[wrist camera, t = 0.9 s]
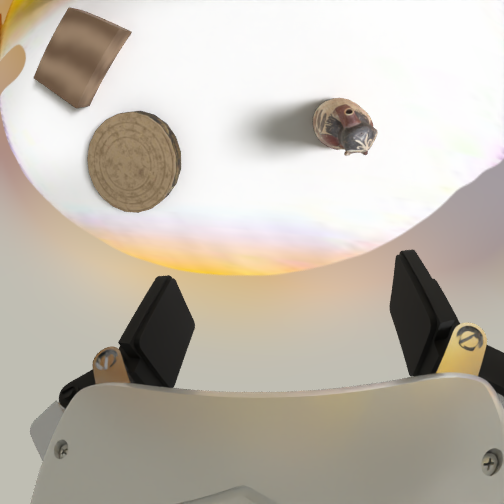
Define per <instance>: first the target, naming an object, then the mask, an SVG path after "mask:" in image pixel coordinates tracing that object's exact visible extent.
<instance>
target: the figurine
mask: <svg viewBox="0 0 504 504" xmlns="http://www.w3.org/2000/svg"><path fill="white" fill-rule="evenodd" d="M313 128H314V132H315V134H316V136H317V137H318V139H319V140H320V141H321V142H322V143H323V144H325V145H326V146H328V147H330V148H333V149H336V150H339V149H345V150H346V152H345V154H344V155H345V156H348V155H350V154H352V153H357V152H359V153H362V154H364V155H367V154H368V150H369V149H370V147H371V146H372V144H373V142H374V140H375V138H376V136H377V130H376V129H375V128H374V127H373V123H372V120H371V118H370V116H369V115H368V113H367V112H366V111H364V110H363V109H362V108H361V107H360V106H359V105H357V104H356V103H354V102H352V101H350V100H348V99H343V98H333V99H331V100H328V101H325V102H324V103H322V104H321V105H320V106H319V107H318V108H317V110H316V111H315V113H314V116H313Z"/></svg>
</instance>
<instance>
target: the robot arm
mask: <svg viewBox="0 0 504 504" xmlns="http://www.w3.org/2000/svg"><path fill="white" fill-rule="evenodd" d="M390 313H391V316H392V319H393V322H394V325H395V328H396V331H397V334H398V338H399V340H400V344H401V347H402V350H403V354H404V358H405V361H406V364H407V368H408V372H409V375H410V376H414V377H409V378H404V379H399V380H392V381H386V382H380V383H373V384H366V385H359V386H351V387H342V388H333V389H322V390H308V391H291V392H220V391H202V390H201V391H200V390H189V389H188V390H187V389H177V388H173V387H174V385H175V383H176V380H177V376H178V374H179V371H180V368H181V365H182V362H183V360H184V356H185V354H186V351H187V348H188V345H189V343H190V340H191V337H192V334H193V331H194V328H195V323H194V320H193V318H192V316H191V314H190V312H189V309H188V307H187V305H186V303H185V301H184V298H183V296H182V294H181V291H180V289H179V287H178V285H177V282H176V280H175V279H173V278H172V277H171V276H169V275H168V276H158V277H157V278H156V279H155V281H154V282H153V284H152V286H151V287H150V289H149V291H148V292H147V294H146V295H145V297H144V299H143V301H142V302H141V304H140V305H139V307H138V309H137V311H136V312H135V314H134V316H133V317H132V319H131V321H130V323H129V324H128V326H127V328H126V330H125V331H124V333H123V335H122V337H121V339H120V340H119V342H118V343H119V344H120V347H119V349H118V348H116V347H107V348H104V349H103V350H101V351H100V352H99V353H98V354H97V355H96V357H95V358H94V360H93V370H91V371H90V372H87V373H86V374H84V375H82V376H80V377H79V378H77V379H75V380H73V381H72V382H70V383H68V384H67V385H66V386H64V387H63V389H62V390H61V392H60V395H59V402H57V401H55V402H54V403H53V404H52V405H51V406H50V407H48V409H46V410H45V411H44V412H43V413H42V414H41V415H40V416H39V417H38V418H37V419H36V420H35V421H34V422H33V423H32V425H31V428H30V434H31V437H32V439H33V441H34V444H35V446H36V448H37V450H38V452H39V454H40V456H41V458H42V460H43V462H42V465H41V468H40V471H39V474H38V478H37V481H36V485H35V488H34V492H33V496H32V500H31V504H504V353H503V352H501V351H499V350H496V349H494V348H492V347H490V346H488V345H487V338H486V334H485V333H484V331H483V330H482V329H481V328H480V327H479V326H477V325H475V324H473V323H462V324H460V323H459V321H458V319H457V317H456V315H455V313H454V311H453V309H452V307H451V305H450V304H449V302H448V300H447V298H446V296H445V295H444V293H443V291H442V290H441V288H440V286H439V284H438V283H437V281H436V280H435V279H432V278H431V276H430V274H429V272H428V271H427V269H426V268H425V266H424V264H423V263H422V261H421V260H420V258H419V257H418V255H417V253H416V252H415V251H414V250H405V251H401V252H400V254H399V255H397V256H396V260H395V270H394V279H393V286H392V294H391V301H390Z"/></svg>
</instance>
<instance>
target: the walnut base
mask: <svg viewBox="0 0 504 504" xmlns="http://www.w3.org/2000/svg"><path fill="white" fill-rule="evenodd" d="M131 33H132V32H131V31H129V30H127V29H125V28H122V27H120V26H118V25H116V24H114V23H112V22H109V21H107V20H105V19H102V18H100V17H98V16H95V15H93V14H90V13H88V12H85V11H83V10H79V9H74V8H68V10H67V11H66V13H65V15H64V16H63V18H62V20H61V22H60V23H59V25H58V27H57V29H56V31H55V32H54V34H53V36H52V38H51V40H50V42H49V44H48V46H47V48H46V50H45V52H44V55H43V57H42V59H41V61H40V64H39V66H38V68H37V71H36V73H35V76H34V79H36V80H37V81H38V82H40V83H41V84H43V85H44V86H45V87H47V88H48V89H50V90H51V91H53V92H54V93H55V94H57V95H58V96H60V97H61V98H62V99H64V100H65V101H67V102H68V103H69V104H71V105H72V106H74V107H75V108H80V107H86V106H90V104H91V102H92V99H93V97H94V95H95V93H96V91H97V90H98V88H99V86H100V84H101V82H102V80H103V78H104V76H105V75H106V73H107V71H108V69H109V68H110V66H111V64H112V62H113V61H114V59H115V57H116V56H117V54H118V53H119V51H120V49H121V48H122V46H123V45H124V43H125V42H126V40H127V39H128V37H129V36H130V34H131Z"/></svg>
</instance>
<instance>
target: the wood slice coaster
mask: <svg viewBox="0 0 504 504" xmlns="http://www.w3.org/2000/svg"><path fill="white" fill-rule="evenodd" d="M87 159H88V169H89V174H90V177H91V179H92V182H93V185H94V187H95V188H96V190H97V191H98V192H99V194H100V195H101V197H102V198H103V199H104V200H106V201H107V202H108V203H109V204H110V205H112V206H113V207H115V208H118V209H120V210H123V211H125V212H137V213H138V212H142V211H145V210H149V209H151V208H153V207H154V206H156V205H157V204H158V203H160V202H161V201H162V200H163V199H164V198H166V197H167V196H168V195H169V193H170V192H171V190H172V189H173V188H174V186H175V185H176V183H177V180H178V177H179V174H180V170H181V151H180V148H179V145H178V142H177V139H176V136H175V135H174V133H173V132H172V130H171V129H170V128H169V126H168V125H167V124H166V123H165V122H164V121H162V120H161V119H160V118H158V117H157V116H156V115H153V114H150V113H146V112H143V111H134V112H126V113H120V114H117V115H115V116H113V117H111V118H109V119H107V120H105V121H104V122H103V123H102V124H101V126H100V127H99V128H98V129H97V130H96V131H95V133H94V135H93V138H92V140H91V142H90V145H89V151H88V157H87Z"/></svg>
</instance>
